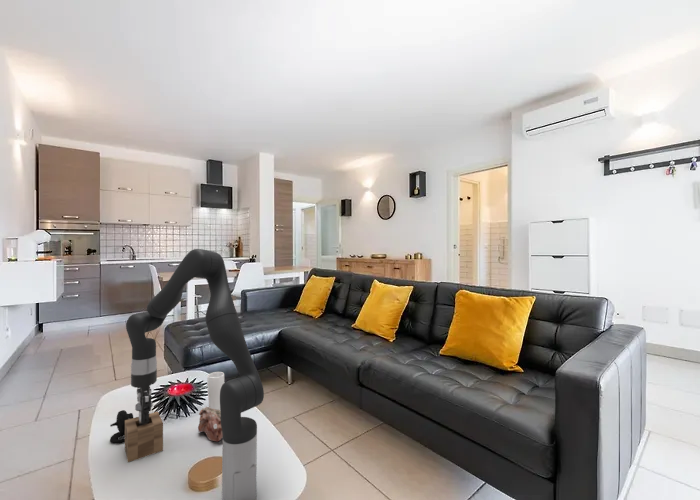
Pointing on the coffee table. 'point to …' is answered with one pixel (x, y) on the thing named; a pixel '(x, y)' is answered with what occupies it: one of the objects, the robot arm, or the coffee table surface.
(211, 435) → the rock
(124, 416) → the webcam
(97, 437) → the coffee table surface
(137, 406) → the pin
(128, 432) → the block
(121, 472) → the coffee table surface
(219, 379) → the drinking glass
